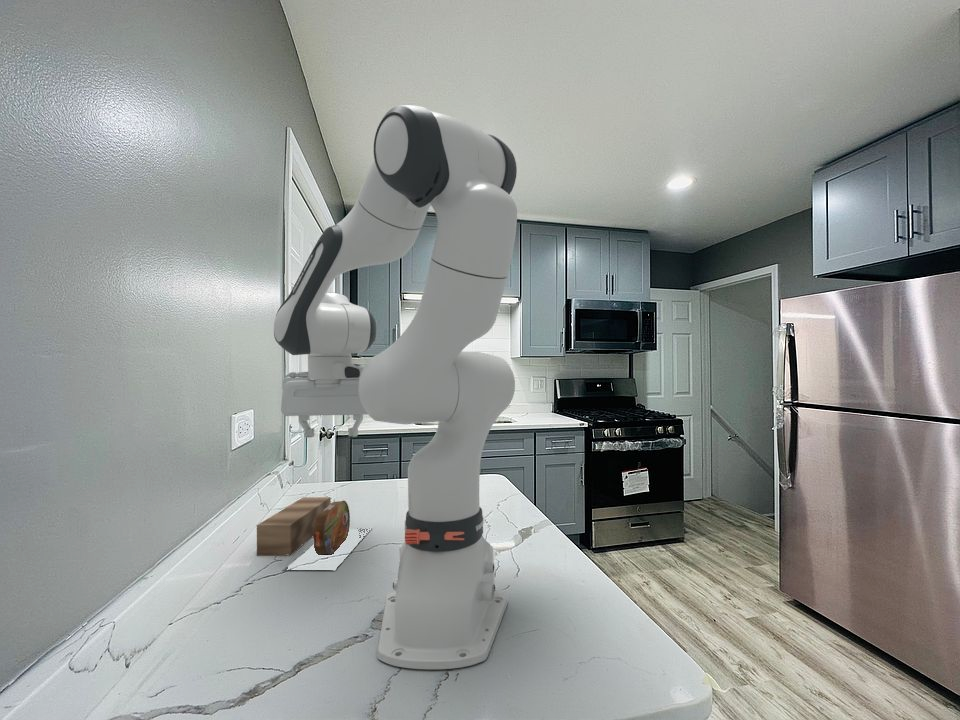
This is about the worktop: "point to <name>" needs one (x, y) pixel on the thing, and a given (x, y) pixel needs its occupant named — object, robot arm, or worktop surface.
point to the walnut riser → (289, 526)
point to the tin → (331, 528)
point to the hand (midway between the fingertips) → (331, 436)
